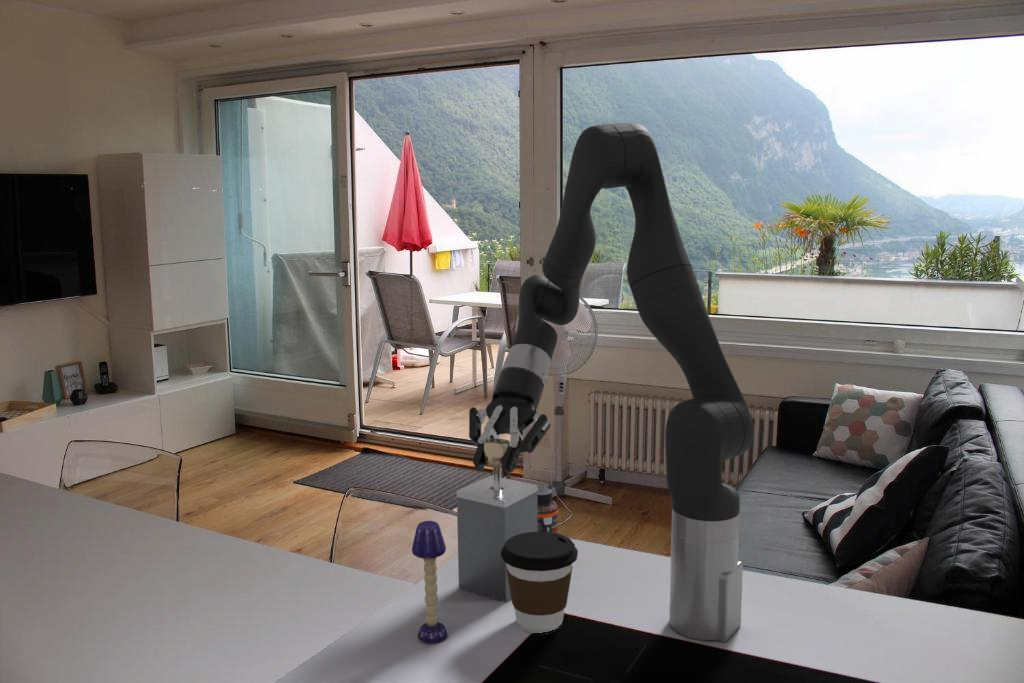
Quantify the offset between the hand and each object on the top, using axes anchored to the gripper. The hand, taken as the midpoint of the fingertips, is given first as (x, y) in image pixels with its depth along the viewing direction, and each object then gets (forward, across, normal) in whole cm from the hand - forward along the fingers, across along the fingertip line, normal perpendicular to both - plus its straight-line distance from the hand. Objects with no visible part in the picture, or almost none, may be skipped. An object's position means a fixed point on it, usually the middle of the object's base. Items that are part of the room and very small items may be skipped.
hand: (491, 470), depth 131 cm
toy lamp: (+26, -2, +2) cm, 26 cm away
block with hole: (+12, 0, +15) cm, 20 cm away
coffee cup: (+19, +11, +9) cm, 24 cm away
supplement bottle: (+3, +1, +25) cm, 25 cm away
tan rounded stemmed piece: (+8, 0, +11) cm, 14 cm away
